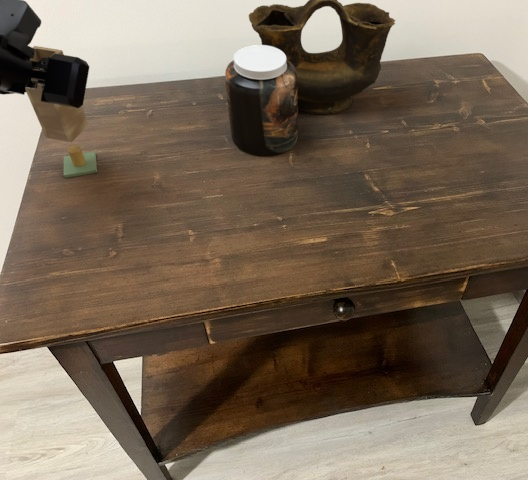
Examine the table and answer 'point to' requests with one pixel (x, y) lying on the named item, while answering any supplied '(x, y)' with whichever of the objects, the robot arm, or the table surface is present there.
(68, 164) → the coat peg
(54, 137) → the square pencil holder
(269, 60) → the jar
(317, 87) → the pottery vessel
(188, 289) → the table surface
